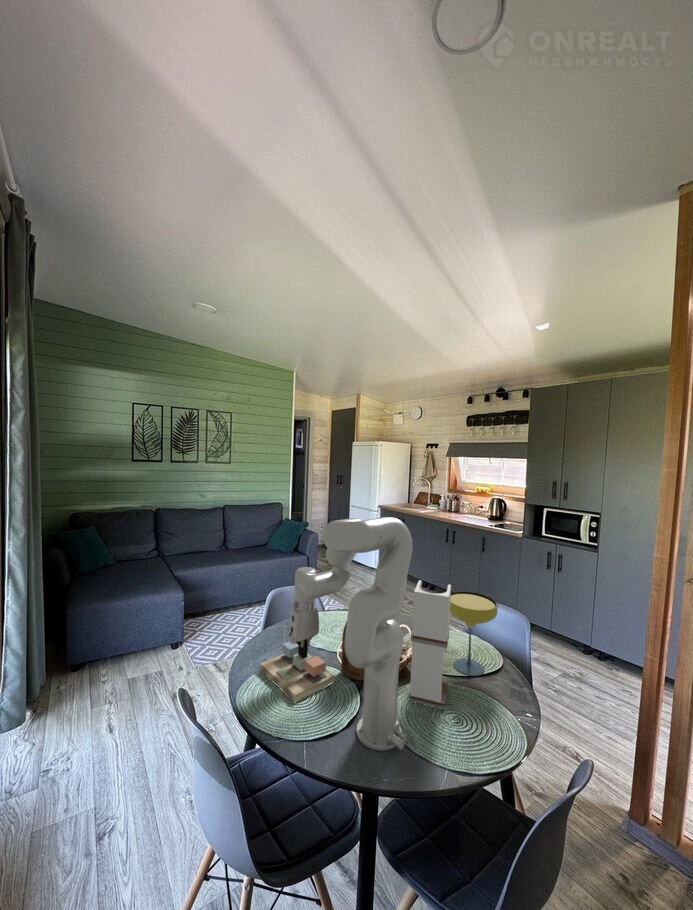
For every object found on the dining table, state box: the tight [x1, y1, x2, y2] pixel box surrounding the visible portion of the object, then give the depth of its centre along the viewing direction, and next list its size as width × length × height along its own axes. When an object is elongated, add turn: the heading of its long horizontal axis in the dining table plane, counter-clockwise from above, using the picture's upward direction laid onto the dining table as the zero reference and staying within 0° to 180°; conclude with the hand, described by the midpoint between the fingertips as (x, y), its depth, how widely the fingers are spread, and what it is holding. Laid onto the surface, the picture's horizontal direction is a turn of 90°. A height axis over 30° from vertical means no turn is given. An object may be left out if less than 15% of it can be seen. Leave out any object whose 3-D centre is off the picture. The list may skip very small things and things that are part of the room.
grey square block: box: [281, 640, 298, 658], centre depth 135 cm, size 5×5×3 cm
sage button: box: [293, 652, 314, 670], centre depth 130 cm, size 5×5×3 cm
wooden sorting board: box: [259, 653, 336, 703], centre depth 128 cm, size 22×16×3 cm
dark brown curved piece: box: [340, 621, 365, 681], centre depth 131 cm, size 11×8×20 cm
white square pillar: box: [409, 579, 452, 710], centre depth 121 cm, size 11×11×35 cm
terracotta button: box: [305, 655, 327, 677], centre depth 125 cm, size 5×5×3 cm
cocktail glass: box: [450, 591, 499, 677], centre depth 138 cm, size 18×18×25 cm
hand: (302, 655), depth 130 cm, fingers closed
